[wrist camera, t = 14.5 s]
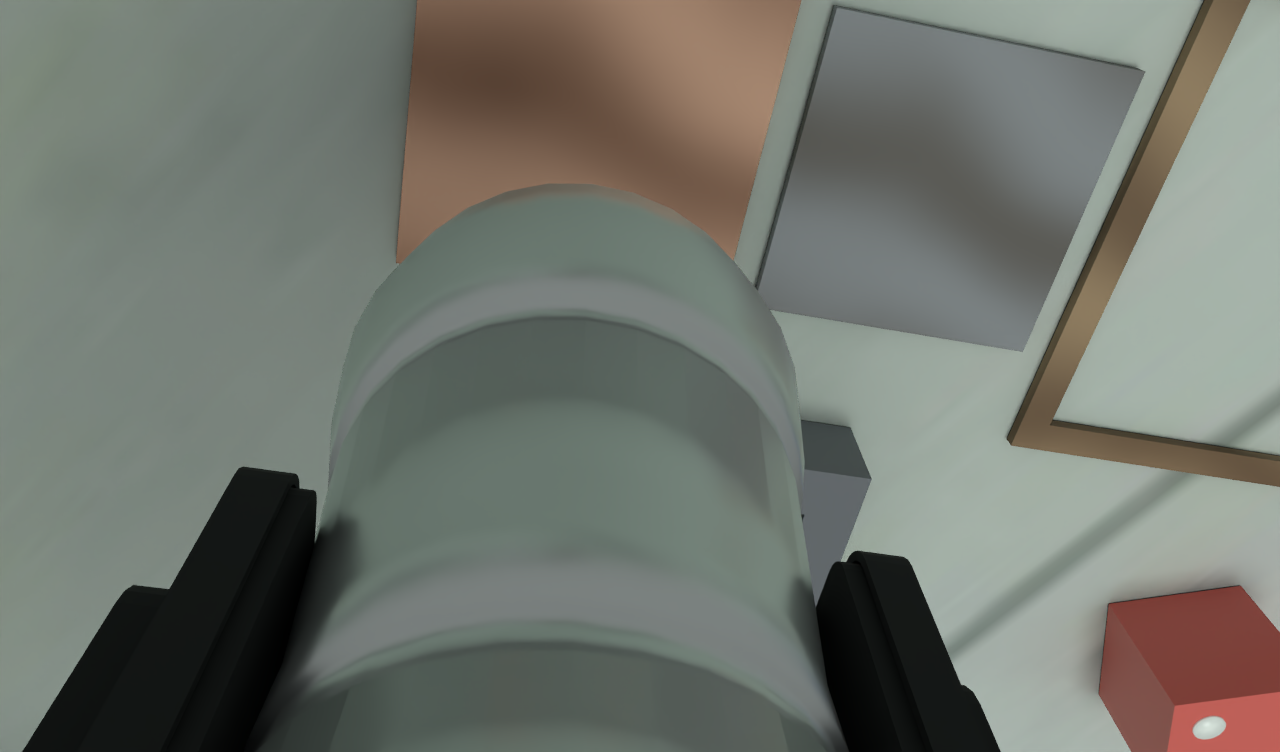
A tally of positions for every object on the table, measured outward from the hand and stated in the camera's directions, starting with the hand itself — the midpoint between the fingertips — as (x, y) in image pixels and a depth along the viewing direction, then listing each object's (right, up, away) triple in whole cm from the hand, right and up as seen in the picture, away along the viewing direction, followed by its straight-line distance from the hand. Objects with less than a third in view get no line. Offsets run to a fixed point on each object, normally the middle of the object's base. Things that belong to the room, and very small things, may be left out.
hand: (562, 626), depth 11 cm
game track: (+13, +8, +19) cm, 24 cm away
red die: (+22, -8, +28) cm, 36 cm away
